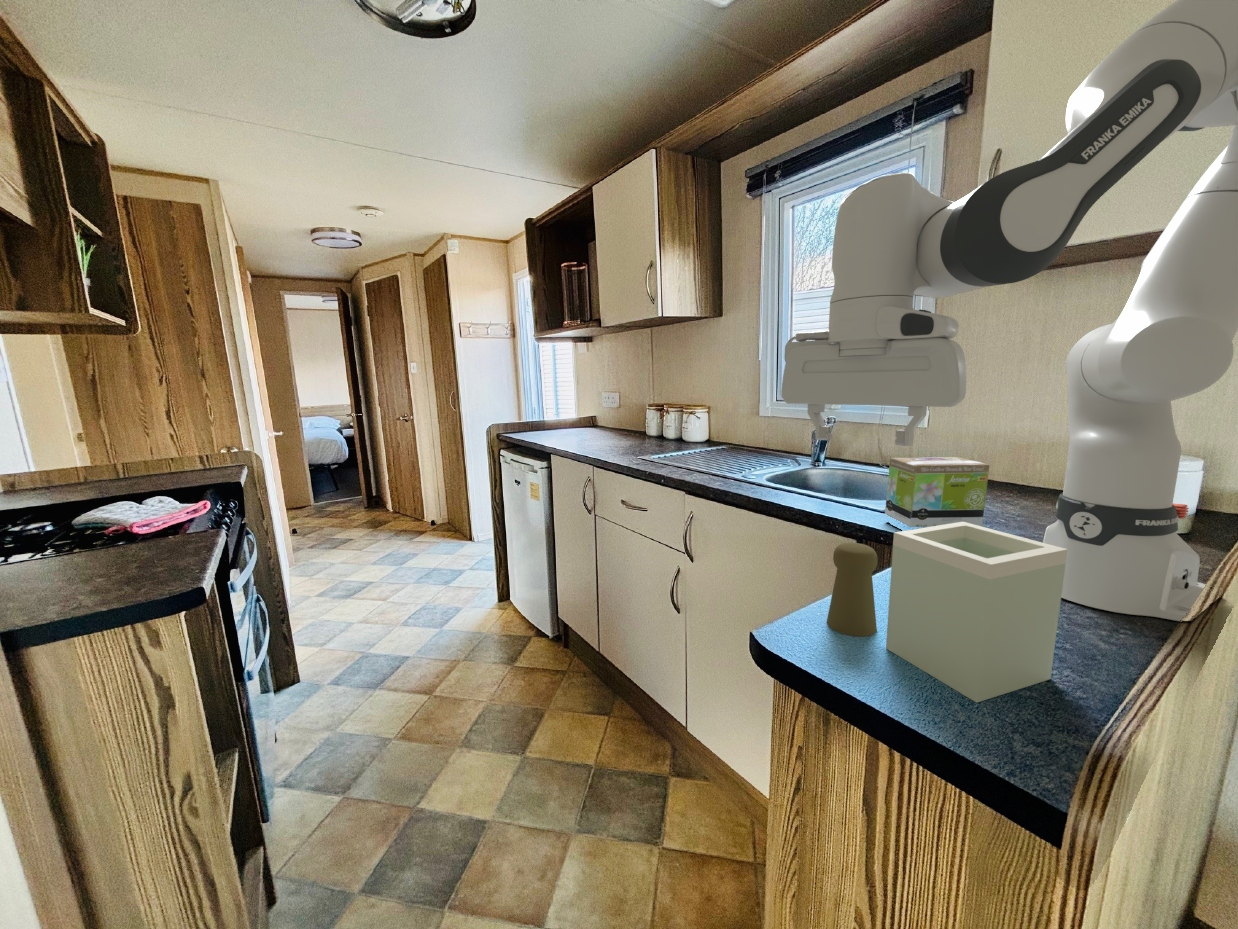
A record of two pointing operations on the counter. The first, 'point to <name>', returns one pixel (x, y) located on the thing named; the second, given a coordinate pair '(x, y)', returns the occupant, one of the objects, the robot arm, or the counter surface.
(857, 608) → the cork
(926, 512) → the tea box
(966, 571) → the open top box
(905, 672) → the counter surface
